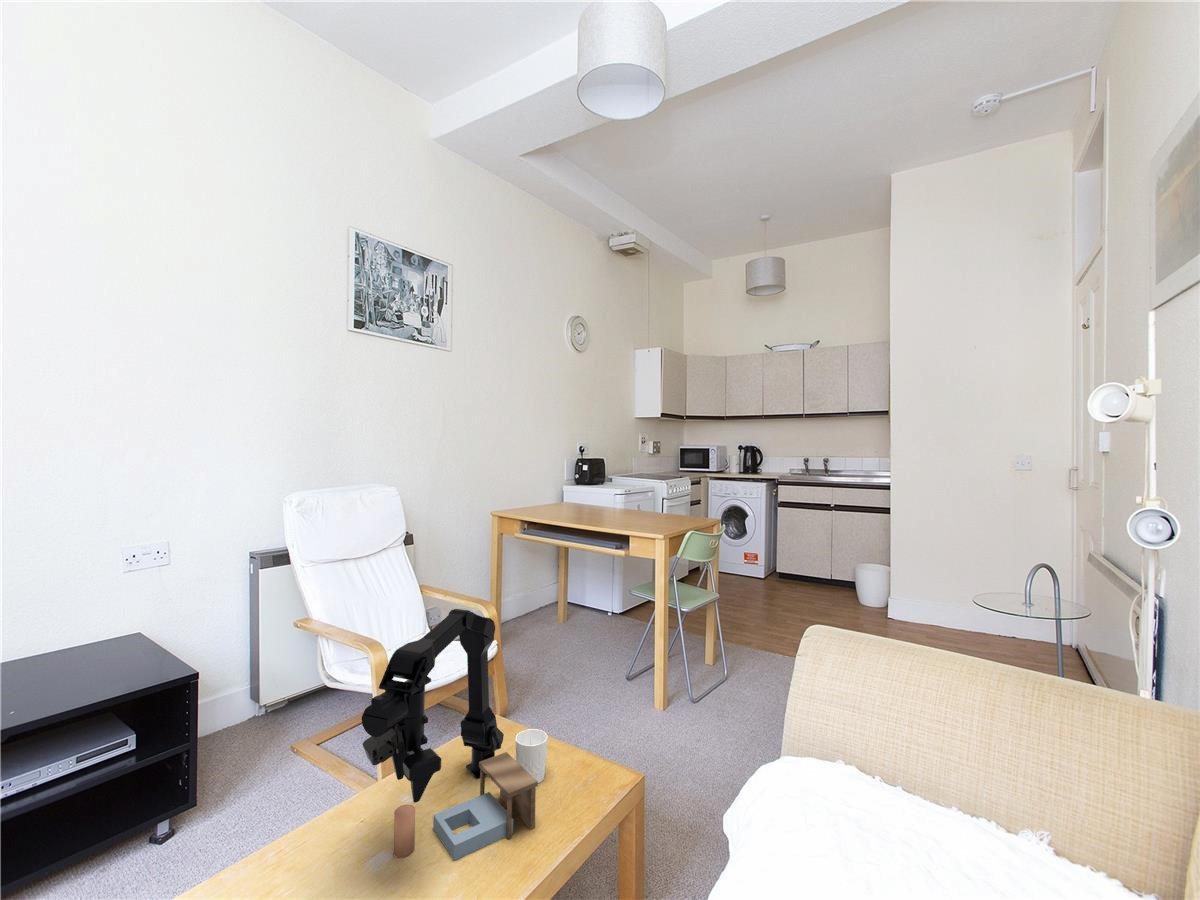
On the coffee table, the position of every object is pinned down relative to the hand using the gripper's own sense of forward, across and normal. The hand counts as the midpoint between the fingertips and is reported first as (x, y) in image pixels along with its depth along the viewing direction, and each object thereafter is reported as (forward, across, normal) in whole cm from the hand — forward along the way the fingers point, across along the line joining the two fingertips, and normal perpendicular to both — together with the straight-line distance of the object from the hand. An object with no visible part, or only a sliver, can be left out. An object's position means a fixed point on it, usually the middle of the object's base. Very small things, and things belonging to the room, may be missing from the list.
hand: (407, 790), depth 109 cm
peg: (+12, 0, 0) cm, 12 cm away
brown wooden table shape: (+12, +3, +21) cm, 25 cm away
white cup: (+12, -6, +33) cm, 35 cm away
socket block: (+12, +3, +13) cm, 18 cm away
